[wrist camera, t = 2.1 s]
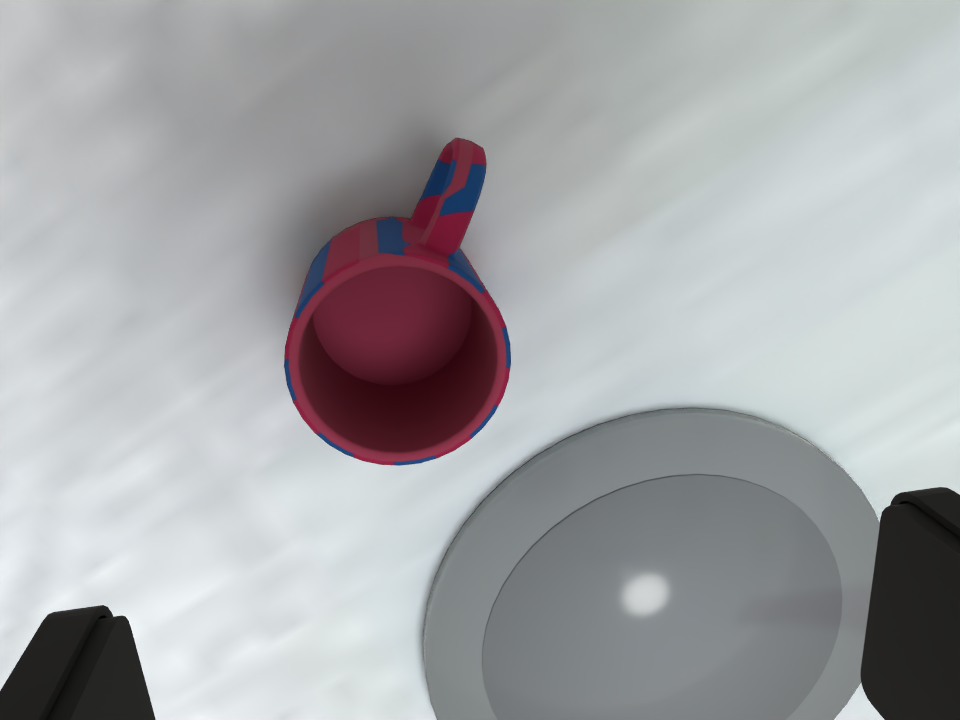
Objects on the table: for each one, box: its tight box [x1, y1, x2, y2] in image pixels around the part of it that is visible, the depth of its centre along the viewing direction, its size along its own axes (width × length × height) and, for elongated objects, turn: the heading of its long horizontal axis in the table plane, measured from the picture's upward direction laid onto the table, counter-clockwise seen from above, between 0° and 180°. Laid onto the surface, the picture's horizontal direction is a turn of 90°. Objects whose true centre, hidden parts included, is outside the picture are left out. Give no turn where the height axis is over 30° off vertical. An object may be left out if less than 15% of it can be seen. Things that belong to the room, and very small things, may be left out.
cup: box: [284, 138, 511, 465], centre depth 25 cm, size 7×10×7 cm
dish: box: [424, 408, 880, 720], centre depth 35 cm, size 22×22×1 cm
